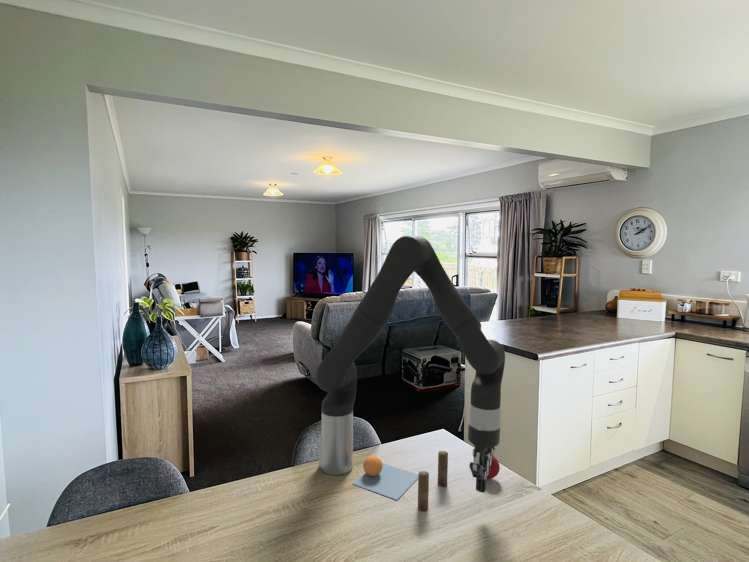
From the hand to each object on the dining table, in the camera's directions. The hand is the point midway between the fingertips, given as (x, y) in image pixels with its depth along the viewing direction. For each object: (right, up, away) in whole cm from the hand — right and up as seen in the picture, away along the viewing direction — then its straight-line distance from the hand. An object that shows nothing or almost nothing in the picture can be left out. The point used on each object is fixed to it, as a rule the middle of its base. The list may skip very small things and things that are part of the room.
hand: (481, 490), depth 104 cm
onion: (+6, -5, +15) cm, 17 cm away
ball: (-27, -1, +17) cm, 32 cm away
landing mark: (-23, -4, +14) cm, 27 cm away
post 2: (-8, -5, +12) cm, 15 cm away
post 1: (-14, -5, +2) cm, 15 cm away
